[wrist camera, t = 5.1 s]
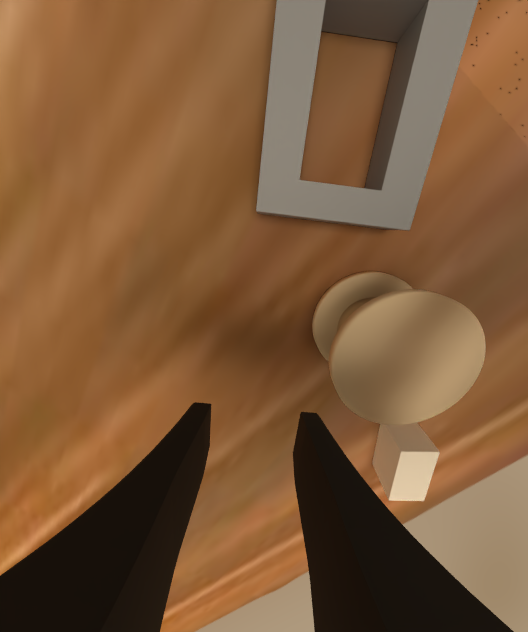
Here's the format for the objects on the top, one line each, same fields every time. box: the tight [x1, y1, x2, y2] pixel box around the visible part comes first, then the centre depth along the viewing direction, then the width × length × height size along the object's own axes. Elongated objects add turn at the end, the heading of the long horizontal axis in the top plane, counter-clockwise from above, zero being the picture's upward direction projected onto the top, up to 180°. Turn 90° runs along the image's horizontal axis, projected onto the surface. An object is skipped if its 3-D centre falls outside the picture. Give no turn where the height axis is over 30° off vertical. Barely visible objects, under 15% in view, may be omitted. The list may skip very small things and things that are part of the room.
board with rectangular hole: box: [256, 0, 478, 230], centre depth 12 cm, size 8×10×2 cm
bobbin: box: [312, 271, 486, 425], centre depth 14 cm, size 7×7×6 cm
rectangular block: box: [372, 422, 440, 501], centre depth 19 cm, size 3×5×3 cm, turn 0°
